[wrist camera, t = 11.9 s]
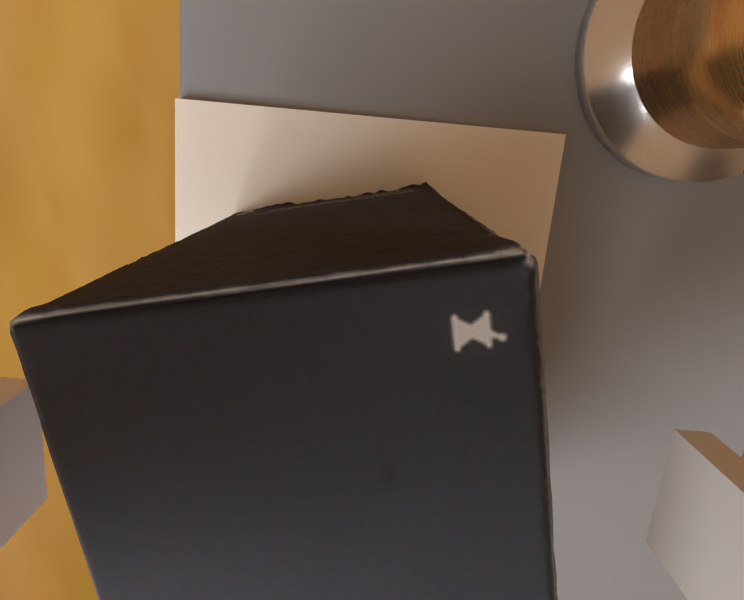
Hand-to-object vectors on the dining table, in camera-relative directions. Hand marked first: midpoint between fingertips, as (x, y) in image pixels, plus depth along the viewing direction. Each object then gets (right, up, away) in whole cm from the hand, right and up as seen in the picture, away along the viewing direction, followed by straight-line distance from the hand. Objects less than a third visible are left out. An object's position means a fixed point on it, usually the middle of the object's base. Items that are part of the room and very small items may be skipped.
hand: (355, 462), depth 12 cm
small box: (0, +1, +6) cm, 6 cm away
